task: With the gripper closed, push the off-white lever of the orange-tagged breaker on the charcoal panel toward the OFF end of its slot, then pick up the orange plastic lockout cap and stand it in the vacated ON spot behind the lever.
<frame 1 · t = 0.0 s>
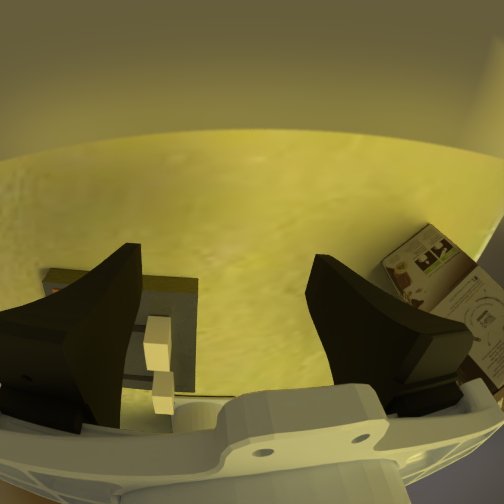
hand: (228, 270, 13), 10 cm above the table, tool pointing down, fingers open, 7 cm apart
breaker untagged: (163, 393, 26), point 4 cm above the table, slide at 0.0 cm
breaker panel: (127, 331, 27), on the table
coffee box: (417, 271, 28), on the table
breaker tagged: (158, 343, 23), point 4 cm above the table, slide at 0.0 cm
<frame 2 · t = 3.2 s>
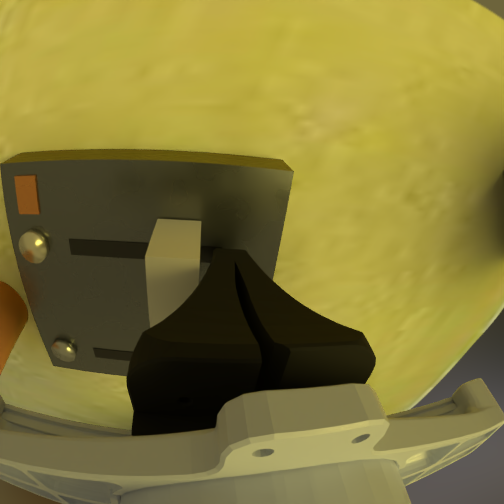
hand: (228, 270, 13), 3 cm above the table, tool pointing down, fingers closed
lockout cap: (5, 304, 16), on the table
breaker panel: (141, 272, 16), on the table
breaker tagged: (175, 273, 12), point 4 cm above the table, slide at 1.4 cm, touching gripper
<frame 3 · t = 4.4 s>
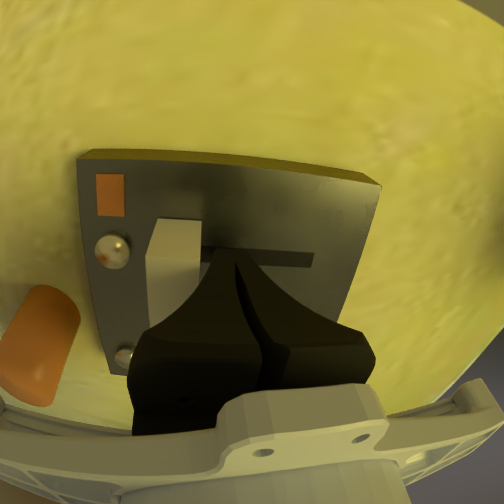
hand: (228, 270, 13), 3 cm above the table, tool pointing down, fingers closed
lockout cap: (52, 311, 16), on the table
breaker panel: (219, 276, 17), on the table
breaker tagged: (175, 273, 12), point 4 cm above the table, slide at 5.6 cm, touching gripper
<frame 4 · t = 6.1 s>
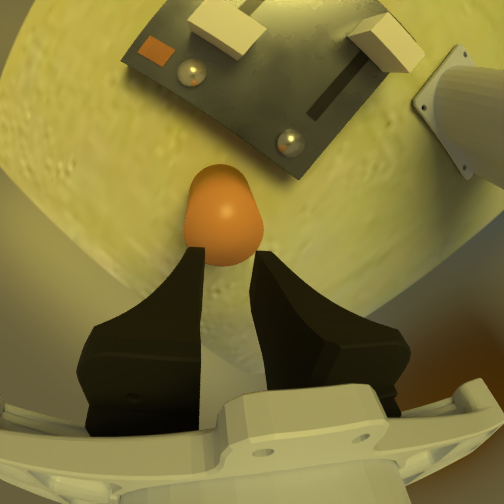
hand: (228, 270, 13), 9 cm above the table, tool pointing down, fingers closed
lockout cap: (219, 193, 21), on the table
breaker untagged: (385, 43, 13), point 4 cm above the table, slide at 0.0 cm
breaker panel: (275, 38, 16), on the table
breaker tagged: (225, 28, 12), point 4 cm above the table, slide at 5.6 cm
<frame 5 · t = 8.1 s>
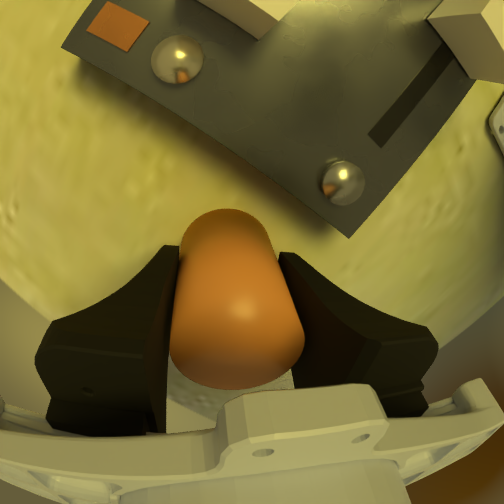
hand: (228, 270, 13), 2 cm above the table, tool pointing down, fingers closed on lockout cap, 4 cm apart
lockout cap: (225, 250, 14), on the table, touching gripper
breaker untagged: (484, 38, 7), point 4 cm above the table, slide at 0.0 cm
breaker panel: (315, 11, 9), on the table
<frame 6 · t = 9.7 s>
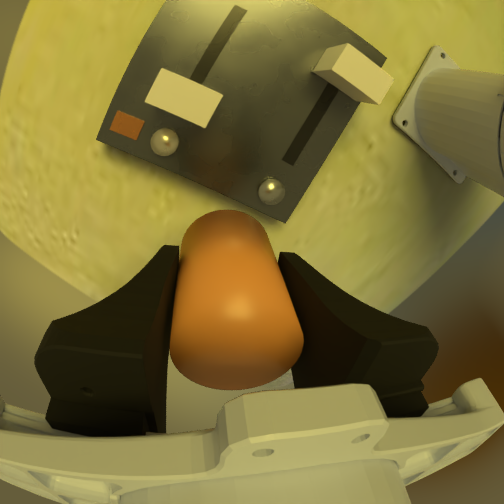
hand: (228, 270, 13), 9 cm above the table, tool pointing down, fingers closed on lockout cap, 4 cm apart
lockout cap: (225, 251, 14), point 8 cm above the table, touching gripper
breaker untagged: (352, 74, 14), point 4 cm above the table, slide at 0.0 cm
breaker panel: (242, 83, 17), on the table
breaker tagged: (185, 96, 14), point 4 cm above the table, slide at 5.6 cm
when the fingers open (5 cm above the table, at t = 11.6 s): lockout cap drops 1 cm, resting on breaker panel.
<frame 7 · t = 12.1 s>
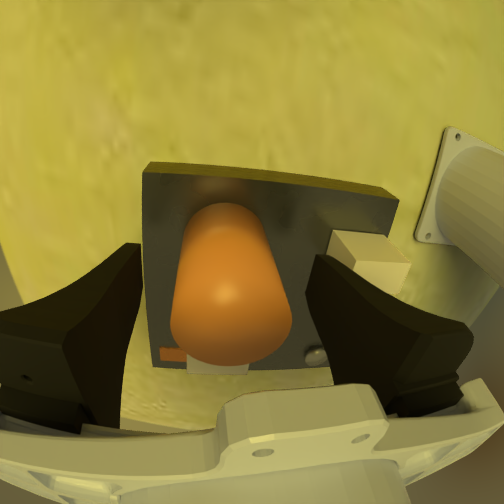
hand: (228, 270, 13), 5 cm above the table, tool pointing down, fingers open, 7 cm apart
lockout cap: (224, 241, 15), point 2 cm above the table, touching breaker panel
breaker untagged: (366, 261, 15), point 4 cm above the table, slide at 0.0 cm
breaker panel: (258, 276, 19), on the table
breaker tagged: (216, 343, 16), point 4 cm above the table, slide at 5.6 cm
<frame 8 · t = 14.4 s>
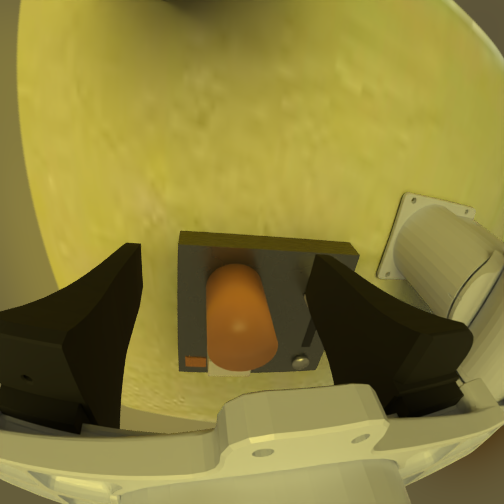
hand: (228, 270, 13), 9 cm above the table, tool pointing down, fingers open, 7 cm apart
lockout cap: (234, 287, 22), point 2 cm above the table, touching breaker panel
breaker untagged: (332, 300, 22), point 4 cm above the table, slide at 0.0 cm
breaker panel: (257, 306, 26), on the table
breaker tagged: (228, 354, 23), point 4 cm above the table, slide at 5.6 cm
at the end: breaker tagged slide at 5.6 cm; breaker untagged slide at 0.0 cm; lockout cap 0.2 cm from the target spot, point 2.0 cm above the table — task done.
